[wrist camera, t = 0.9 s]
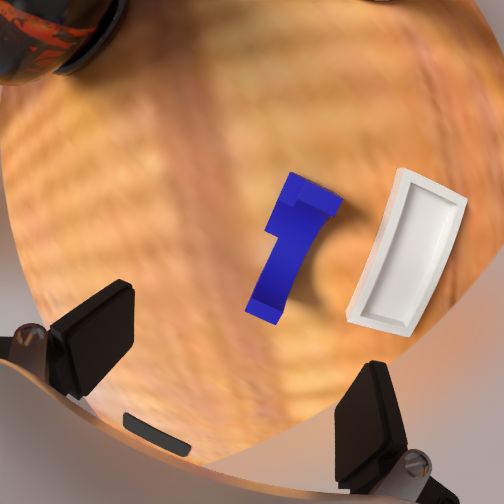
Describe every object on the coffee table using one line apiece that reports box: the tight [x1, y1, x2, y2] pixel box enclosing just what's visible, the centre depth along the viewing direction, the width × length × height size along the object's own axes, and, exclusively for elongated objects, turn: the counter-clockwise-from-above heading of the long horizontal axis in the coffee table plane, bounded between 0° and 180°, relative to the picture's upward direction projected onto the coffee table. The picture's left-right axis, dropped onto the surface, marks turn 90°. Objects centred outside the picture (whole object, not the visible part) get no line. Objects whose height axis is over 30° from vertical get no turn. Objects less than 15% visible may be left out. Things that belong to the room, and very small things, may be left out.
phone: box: [123, 412, 191, 457], centre depth 43 cm, size 7×1×15 cm
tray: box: [345, 168, 468, 338], centre depth 24 cm, size 16×8×2 cm, turn 166°
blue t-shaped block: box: [245, 172, 343, 325], centre depth 24 cm, size 12×4×6 cm, turn 157°
